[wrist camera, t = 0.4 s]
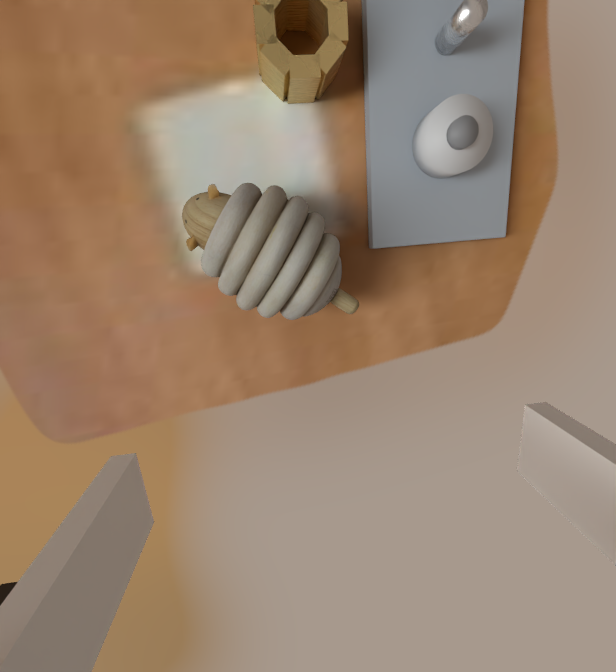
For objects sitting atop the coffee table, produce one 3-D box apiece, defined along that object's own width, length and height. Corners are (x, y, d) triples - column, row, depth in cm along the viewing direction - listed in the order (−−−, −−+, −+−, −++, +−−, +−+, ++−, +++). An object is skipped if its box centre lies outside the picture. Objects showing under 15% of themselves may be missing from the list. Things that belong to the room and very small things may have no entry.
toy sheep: (218, 162, 32) (190, 122, 21) (371, 245, 35) (413, 247, 25) (177, 264, 34) (133, 275, 23) (324, 333, 37) (345, 370, 27)
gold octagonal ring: (252, 10, 29) (248, -35, 24) (333, 8, 29) (345, -38, 24) (262, 105, 31) (260, 80, 26) (338, 100, 31) (349, 75, 26)
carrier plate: (360, -44, 28) (379, -106, 23) (516, -48, 29) (567, -108, 24) (368, 248, 35) (384, 249, 30) (496, 237, 36) (532, 236, 31)
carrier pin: (435, 28, 29) (463, -9, 25) (457, 27, 29) (488, -9, 25) (434, 56, 30) (461, 24, 25) (456, 55, 30) (487, 23, 26)
